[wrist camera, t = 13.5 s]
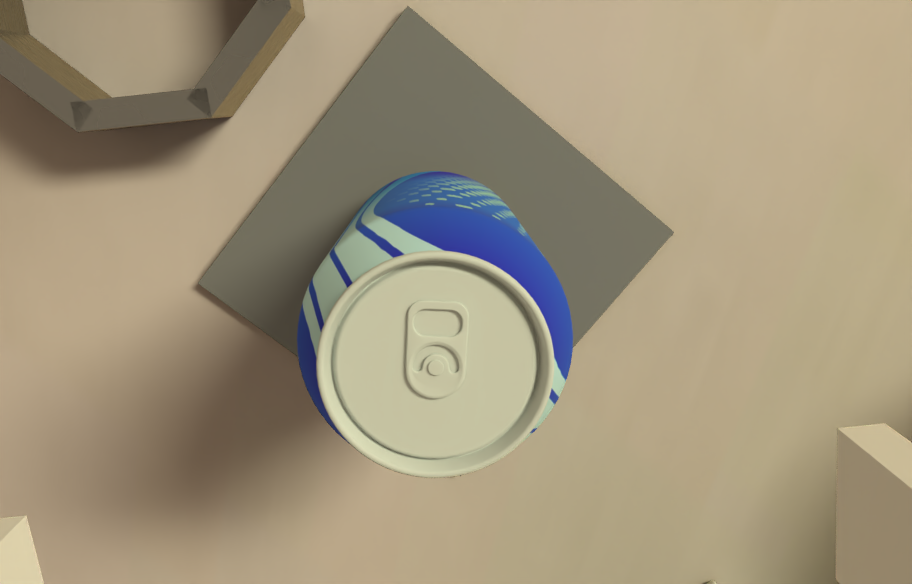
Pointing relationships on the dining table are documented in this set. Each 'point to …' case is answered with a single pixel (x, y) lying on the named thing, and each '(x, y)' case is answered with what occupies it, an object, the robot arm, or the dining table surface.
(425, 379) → the beer can
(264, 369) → the dining table surface
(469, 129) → the rubber mat
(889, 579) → the robot arm
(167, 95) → the ring stand
